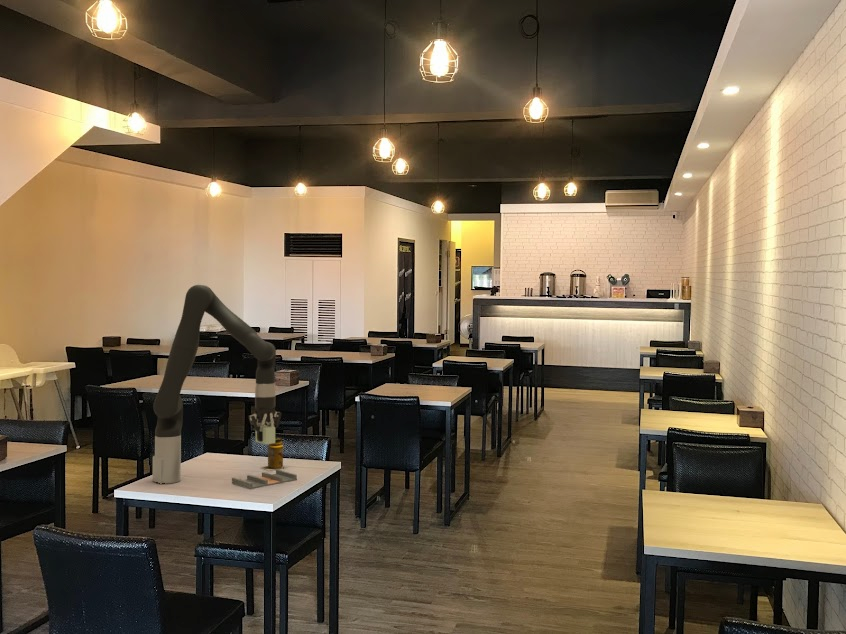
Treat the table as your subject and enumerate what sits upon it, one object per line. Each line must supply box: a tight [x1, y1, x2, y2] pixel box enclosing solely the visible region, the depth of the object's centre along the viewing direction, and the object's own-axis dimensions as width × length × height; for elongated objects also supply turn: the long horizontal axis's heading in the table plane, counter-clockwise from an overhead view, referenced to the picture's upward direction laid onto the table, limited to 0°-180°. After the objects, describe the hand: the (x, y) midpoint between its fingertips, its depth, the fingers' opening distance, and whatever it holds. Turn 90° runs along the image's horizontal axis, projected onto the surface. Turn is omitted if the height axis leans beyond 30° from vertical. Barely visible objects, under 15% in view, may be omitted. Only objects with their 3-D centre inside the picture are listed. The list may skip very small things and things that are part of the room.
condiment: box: [259, 437, 284, 471], centre depth 313 cm, size 7×8×12 cm
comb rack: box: [231, 469, 297, 490], centre depth 290 cm, size 21×12×2 cm, turn 136°
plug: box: [255, 424, 276, 445], centre depth 290 cm, size 4×7×6 cm, turn 47°
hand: (265, 440), depth 290 cm, fingers closed on plug, 4 cm apart
